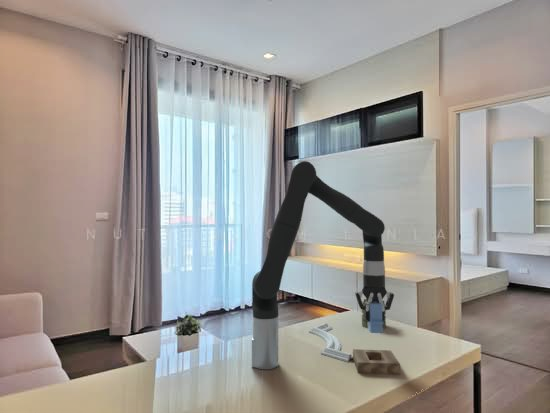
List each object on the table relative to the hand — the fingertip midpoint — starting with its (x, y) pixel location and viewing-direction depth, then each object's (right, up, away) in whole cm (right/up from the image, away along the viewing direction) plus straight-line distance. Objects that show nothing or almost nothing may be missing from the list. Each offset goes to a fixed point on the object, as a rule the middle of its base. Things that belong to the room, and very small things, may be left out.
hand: (374, 321), depth 123 cm
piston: (+13, -18, +46) cm, 51 cm away
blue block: (0, -3, 0) cm, 3 cm away
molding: (-11, -18, +24) cm, 32 cm away
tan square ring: (0, -16, -1) cm, 16 cm away
